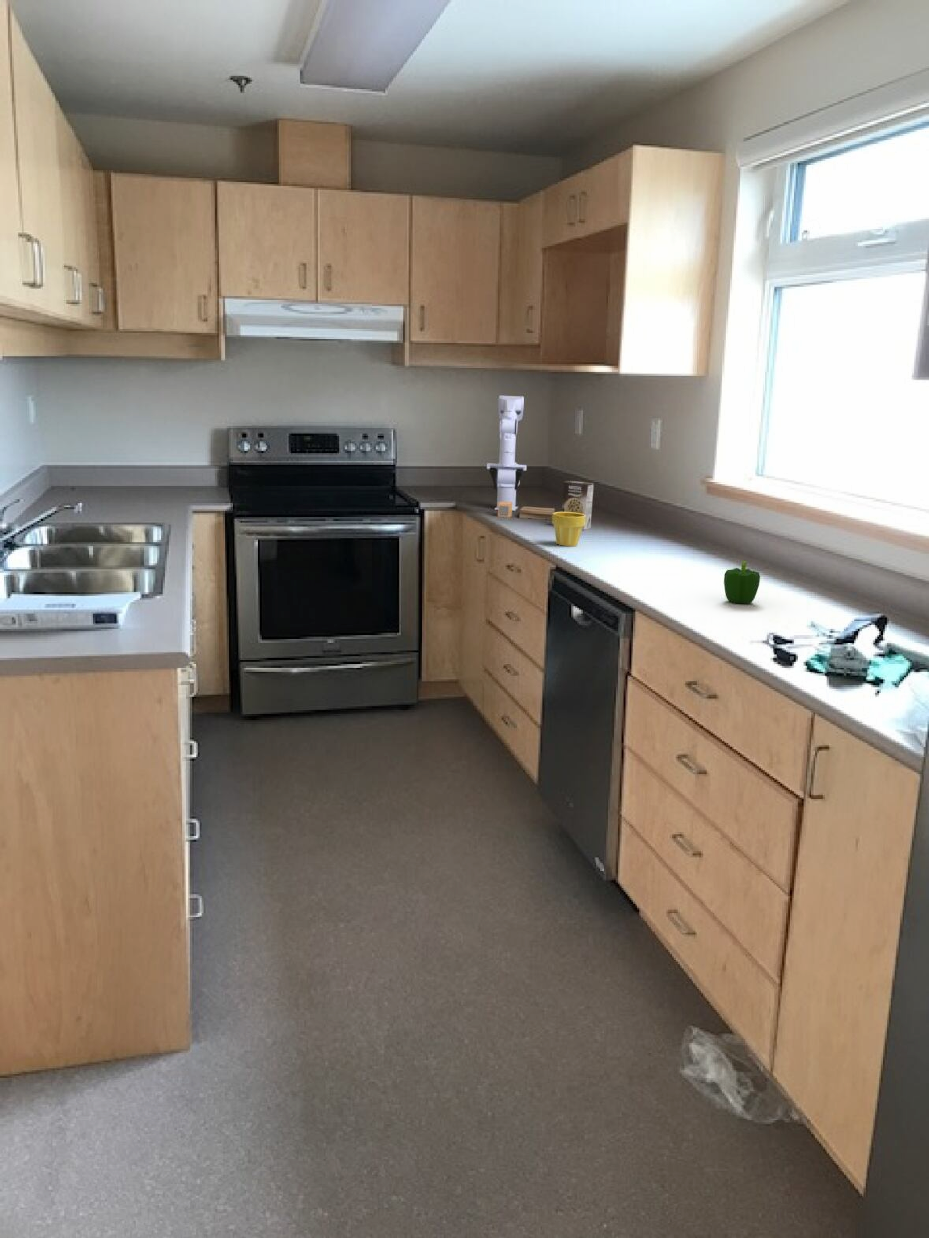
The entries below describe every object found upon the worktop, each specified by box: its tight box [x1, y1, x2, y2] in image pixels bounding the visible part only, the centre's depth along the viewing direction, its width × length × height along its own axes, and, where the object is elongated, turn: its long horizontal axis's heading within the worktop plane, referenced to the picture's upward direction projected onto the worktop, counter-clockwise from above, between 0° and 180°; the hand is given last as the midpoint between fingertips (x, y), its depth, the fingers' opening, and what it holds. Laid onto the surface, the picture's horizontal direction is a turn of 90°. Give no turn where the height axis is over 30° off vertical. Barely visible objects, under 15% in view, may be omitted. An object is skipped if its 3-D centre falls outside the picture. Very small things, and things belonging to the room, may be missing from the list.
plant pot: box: [551, 511, 585, 547], centre depth 316 cm, size 10×10×10 cm
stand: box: [519, 506, 556, 521], centre depth 373 cm, size 10×12×3 cm
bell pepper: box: [723, 560, 761, 605], centre depth 244 cm, size 8×8×10 cm
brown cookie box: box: [561, 480, 595, 531], centre depth 349 cm, size 9×6×16 cm
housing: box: [497, 502, 513, 518], centre depth 374 cm, size 6×4×5 cm
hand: (505, 489), depth 371 cm, fingers open, 7 cm apart
